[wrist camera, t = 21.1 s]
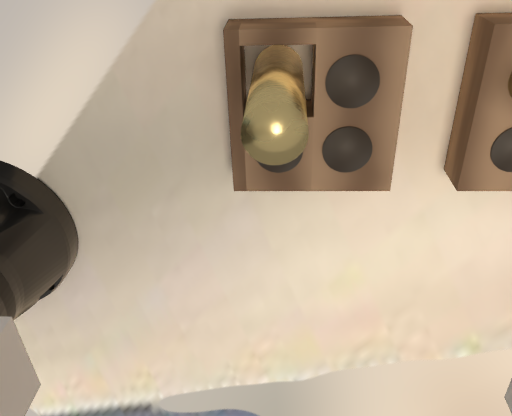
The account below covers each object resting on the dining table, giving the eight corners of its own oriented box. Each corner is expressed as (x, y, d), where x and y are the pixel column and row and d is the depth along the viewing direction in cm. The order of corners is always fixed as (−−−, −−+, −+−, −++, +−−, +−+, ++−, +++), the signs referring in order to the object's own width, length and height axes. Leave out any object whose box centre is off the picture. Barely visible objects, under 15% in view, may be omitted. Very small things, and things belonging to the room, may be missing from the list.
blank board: (237, 169, 40) (233, 192, 36) (228, 19, 33) (222, 30, 30) (382, 169, 39) (390, 192, 36) (401, 15, 32) (413, 26, 29)
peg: (254, 92, 36) (240, 164, 26) (254, 44, 34) (240, 101, 24) (301, 93, 36) (306, 166, 26) (304, 45, 34) (311, 103, 24)
